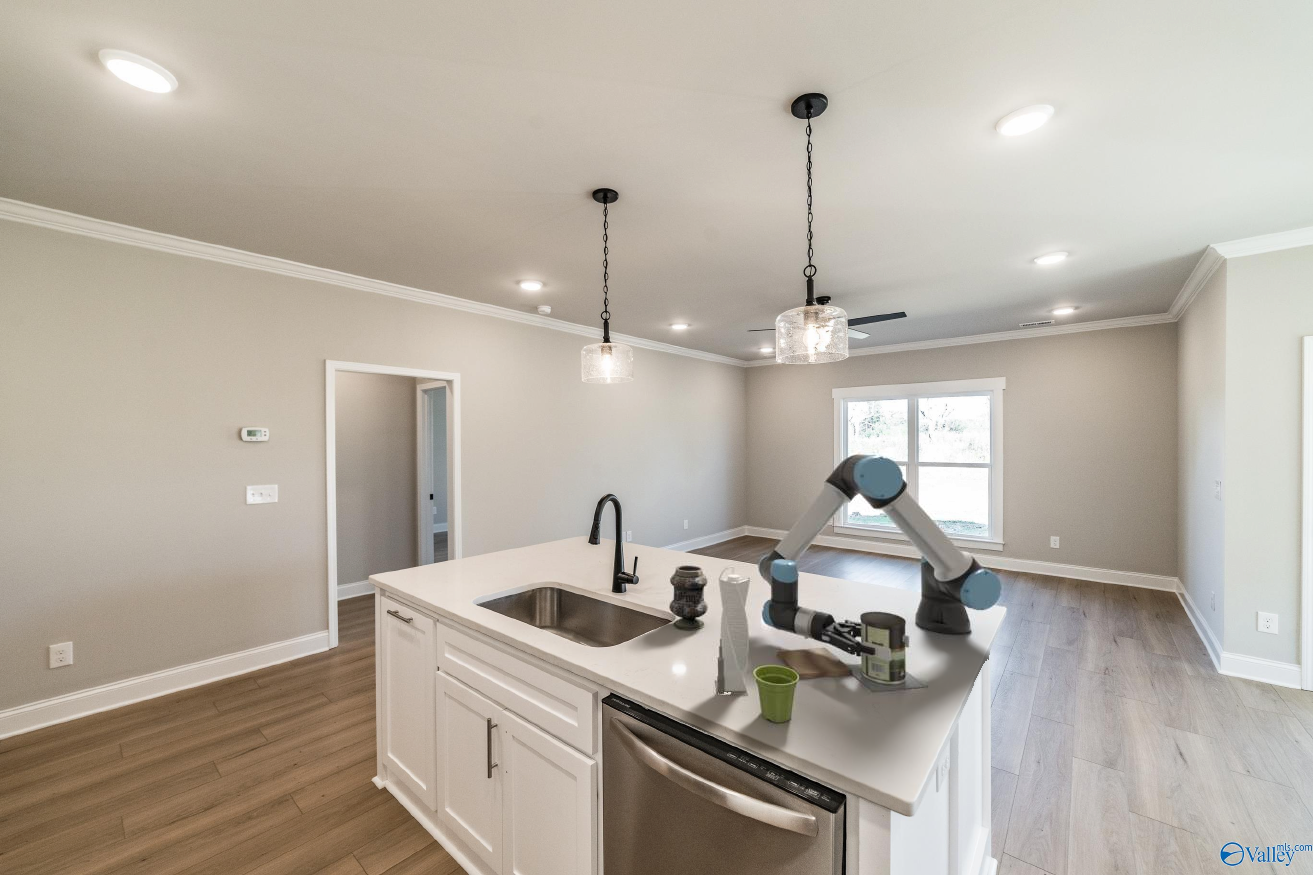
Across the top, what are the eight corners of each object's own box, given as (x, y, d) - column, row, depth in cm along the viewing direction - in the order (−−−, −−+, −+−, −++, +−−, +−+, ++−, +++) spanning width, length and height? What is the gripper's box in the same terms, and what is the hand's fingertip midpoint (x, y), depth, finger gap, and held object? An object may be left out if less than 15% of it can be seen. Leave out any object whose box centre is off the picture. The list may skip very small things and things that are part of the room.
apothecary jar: (714, 622, 166) (714, 566, 166) (696, 634, 156) (696, 574, 156) (681, 616, 172) (681, 561, 173) (662, 627, 162) (662, 569, 162)
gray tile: (891, 662, 136) (891, 661, 136) (927, 687, 122) (927, 686, 122) (841, 666, 134) (841, 665, 134) (873, 691, 120) (873, 690, 120)
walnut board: (825, 652, 143) (825, 647, 143) (852, 674, 129) (852, 669, 129) (776, 655, 140) (776, 651, 140) (799, 678, 127) (799, 673, 127)
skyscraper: (714, 679, 127) (714, 564, 127) (747, 679, 127) (747, 564, 127) (717, 696, 119) (717, 573, 119) (753, 696, 118) (752, 573, 119)
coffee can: (900, 668, 132) (899, 612, 132) (911, 686, 122) (911, 626, 122) (857, 664, 134) (856, 609, 134) (864, 682, 124) (864, 623, 124)
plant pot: (748, 705, 114) (748, 665, 114) (790, 703, 115) (790, 663, 115) (760, 728, 105) (760, 685, 105) (806, 726, 106) (805, 683, 106)
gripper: (836, 628, 149) (917, 650, 133) (793, 651, 133) (879, 679, 117) (836, 602, 149) (917, 620, 133) (792, 621, 133) (879, 645, 117)
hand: (899, 648), depth 125 cm, fingers open, 11 cm apart
